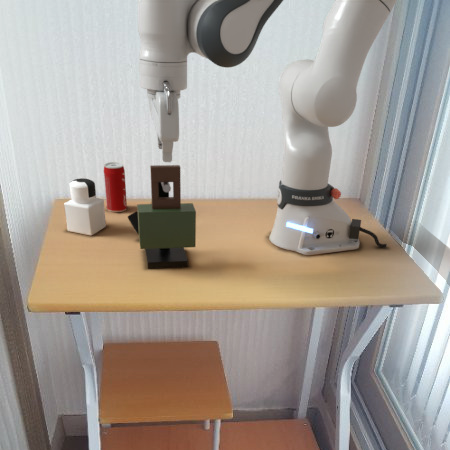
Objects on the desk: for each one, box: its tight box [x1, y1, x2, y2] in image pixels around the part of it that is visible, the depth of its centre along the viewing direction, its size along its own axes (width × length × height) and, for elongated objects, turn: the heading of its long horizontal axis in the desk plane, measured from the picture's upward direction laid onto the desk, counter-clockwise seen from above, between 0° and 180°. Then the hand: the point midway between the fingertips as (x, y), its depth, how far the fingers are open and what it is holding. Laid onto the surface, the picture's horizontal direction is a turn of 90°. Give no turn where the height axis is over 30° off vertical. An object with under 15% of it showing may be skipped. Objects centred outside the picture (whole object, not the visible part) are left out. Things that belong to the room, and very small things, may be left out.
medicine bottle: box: [63, 177, 107, 236], centre depth 144 cm, size 7×7×12 cm
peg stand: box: [144, 182, 189, 270], centre depth 129 cm, size 9×11×19 cm
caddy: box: [136, 164, 197, 250], centre depth 124 cm, size 12×5×16 cm, turn 100°
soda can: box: [103, 161, 128, 213], centre depth 156 cm, size 6×6×12 cm
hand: (164, 154), depth 118 cm, fingers open, 8 cm apart
